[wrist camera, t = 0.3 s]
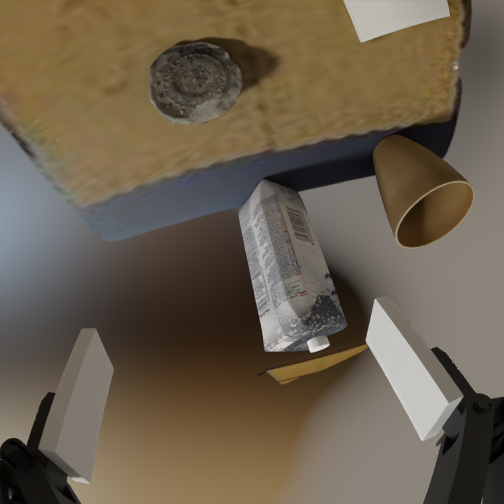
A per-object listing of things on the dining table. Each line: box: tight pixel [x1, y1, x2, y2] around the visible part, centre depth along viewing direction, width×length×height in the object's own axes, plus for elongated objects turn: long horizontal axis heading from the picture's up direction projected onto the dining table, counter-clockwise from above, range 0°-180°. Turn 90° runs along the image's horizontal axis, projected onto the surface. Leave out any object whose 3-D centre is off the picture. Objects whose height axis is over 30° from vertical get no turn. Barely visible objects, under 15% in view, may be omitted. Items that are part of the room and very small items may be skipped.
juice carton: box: [239, 179, 347, 352], centre depth 46 cm, size 9×10×27 cm
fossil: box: [148, 42, 243, 125], centre depth 32 cm, size 11×9×10 cm
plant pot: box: [373, 135, 475, 249], centre depth 44 cm, size 15×15×16 cm
